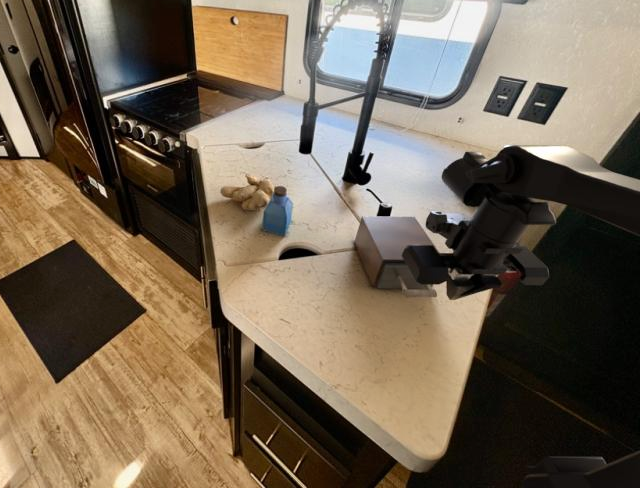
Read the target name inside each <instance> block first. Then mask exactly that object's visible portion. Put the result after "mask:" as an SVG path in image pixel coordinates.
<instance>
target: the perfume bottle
mask: <svg viewBox="0 0 640 488" xmlns="http://www.w3.org/2000/svg"><path fill="white" fill-rule="evenodd" d="M287 195H288V193H287V188H286V187H285V186H282V185H277V186H276V187H275V188H274V192H273V196H272V198H270V200H269V203H268V205H267V206H266V207H264V210H263V216H262V231H265V232H268V233H273V234H277V235H280V236H283V237H285V236H286V234H287V232H288V230H289V227H290V225H291V222H292V216H293V209H294V202H293V201H292V200H291V197H288V196H287Z"/></svg>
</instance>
